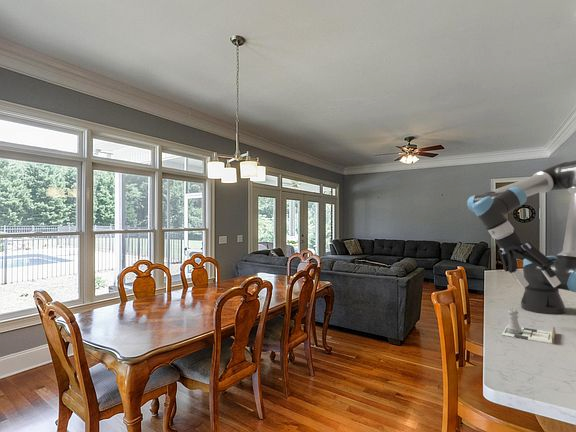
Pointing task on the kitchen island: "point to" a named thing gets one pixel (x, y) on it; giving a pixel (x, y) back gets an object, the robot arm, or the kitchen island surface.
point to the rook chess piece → (513, 322)
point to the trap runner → (534, 335)
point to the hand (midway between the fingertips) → (540, 285)
